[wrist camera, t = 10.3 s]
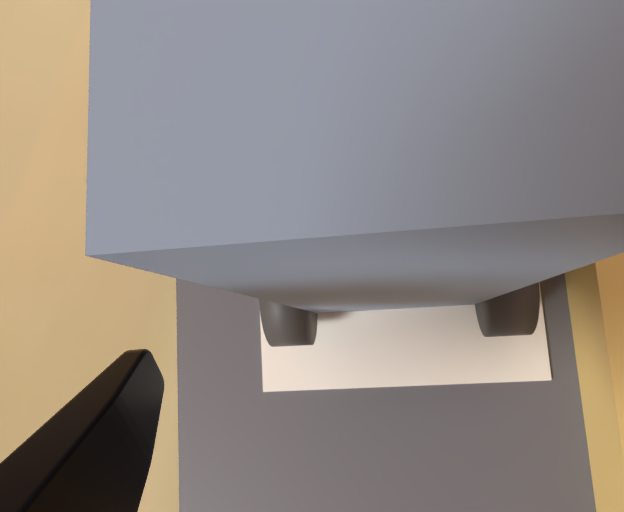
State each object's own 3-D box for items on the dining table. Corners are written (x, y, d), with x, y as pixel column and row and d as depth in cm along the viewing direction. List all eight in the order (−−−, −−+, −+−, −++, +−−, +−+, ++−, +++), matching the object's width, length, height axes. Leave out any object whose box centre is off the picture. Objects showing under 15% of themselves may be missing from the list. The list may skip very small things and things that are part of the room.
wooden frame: (617, 530, 16) (699, 603, 12) (202, 530, 19) (143, 592, 14) (546, 19, 19) (591, -73, 15) (193, 69, 21) (141, 0, 17)
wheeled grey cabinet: (517, 334, 16) (1014, 344, 3) (283, 345, 17) (-52, 385, 4) (489, 81, 17) (761, -638, 4) (274, 106, 18) (-3, -411, 6)
